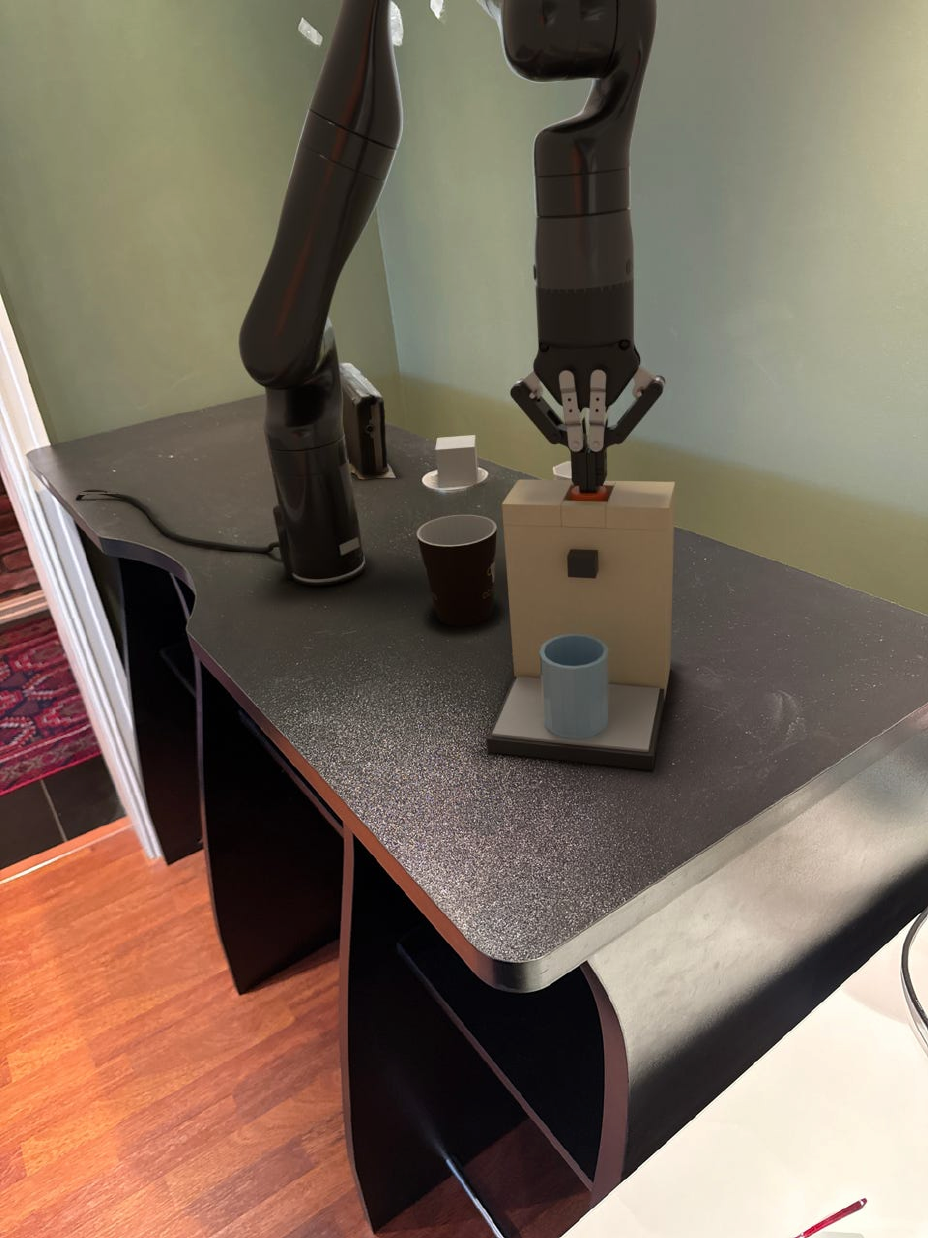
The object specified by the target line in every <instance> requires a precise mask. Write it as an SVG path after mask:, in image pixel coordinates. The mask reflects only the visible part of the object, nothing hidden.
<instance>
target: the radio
mask: <svg viewBox="0 0 928 1238" xmlns="http://www.w3.org/2000/svg"><path fill="white" fill-rule="evenodd" d="M339 369H340V376H341V384H342V392H343V427H344V434H345V440H346V447H347V453H348V459H349V465H350V472H351V474H355V475H356V476H357V478H358V479H359V480H372V479H385V478H394V479H396V475H395V474H394V472H393V469H392V467H391V466H390V465H389V463H388V460H387V459H388V458H387V455H388V454H387V453H388V451H387V441H386V434H387V433H386V410H385V401H384V398H383V396H382V395H381V393H380V392H379V391H378V390H377V388H375V386H374V385H373V384H372V383H371V381H370V380H369V379H367V377H365V376H364V374H363V372H362V371H360V370H359V368H358V367H355V366H354V364H352V363H350V362H339Z"/></svg>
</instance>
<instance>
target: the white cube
mask: <svg viewBox="0 0 928 1238" xmlns="http://www.w3.org/2000/svg"><path fill="white" fill-rule="evenodd" d="M434 448H435V449H434V454H435V462H436V471H437V472H436V473H437V481H438V488H447V487H460V486H461V487H462V486H472V485H473V486H475V485H478V484H479V463H478V452H477V439H476V435H475V434H473V435H456V436H444V437H437V438H436V442H435V447H434Z"/></svg>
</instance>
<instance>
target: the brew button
mask: <svg viewBox="0 0 928 1238" xmlns="http://www.w3.org/2000/svg"><path fill="white" fill-rule="evenodd" d="M571 495H572V501H599V502H607V490H606V488H605V487H604V486H599V489H598V491H597V493H580V492H579V486H577V487H575V488H573V489H572V491H571Z"/></svg>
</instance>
